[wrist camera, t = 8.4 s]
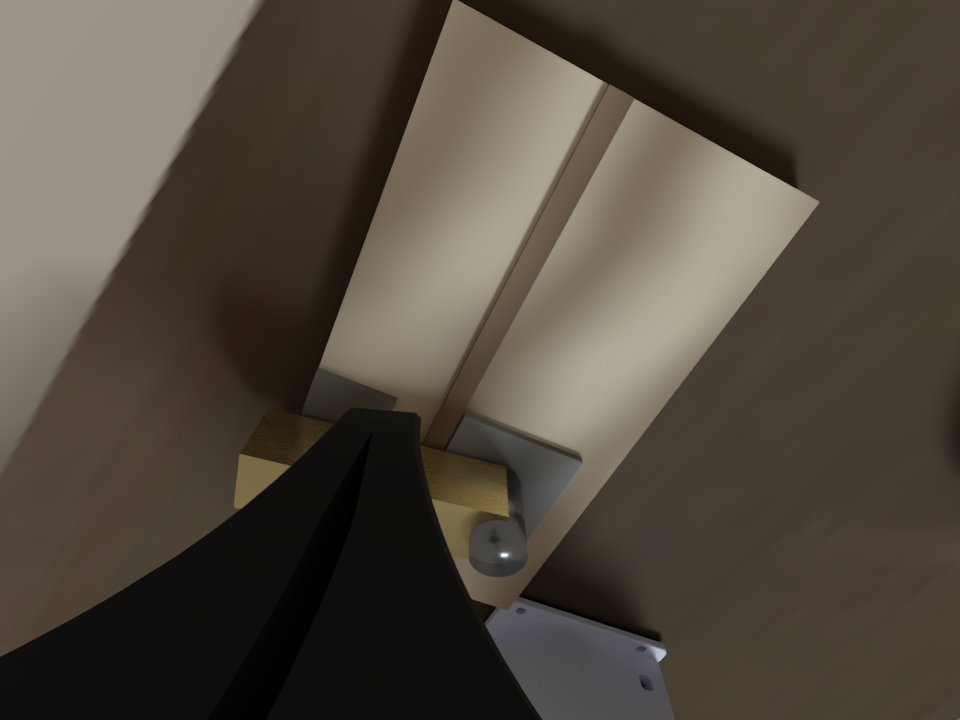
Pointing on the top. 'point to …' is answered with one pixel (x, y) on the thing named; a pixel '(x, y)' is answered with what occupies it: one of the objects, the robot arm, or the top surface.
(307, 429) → the swing bar
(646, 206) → the door board
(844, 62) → the top surface
